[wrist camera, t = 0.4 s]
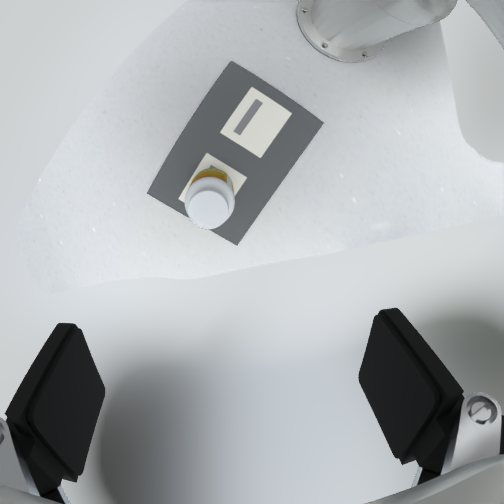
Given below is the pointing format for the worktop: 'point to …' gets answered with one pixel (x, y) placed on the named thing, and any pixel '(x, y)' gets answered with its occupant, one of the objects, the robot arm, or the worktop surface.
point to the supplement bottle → (210, 198)
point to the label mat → (238, 146)
